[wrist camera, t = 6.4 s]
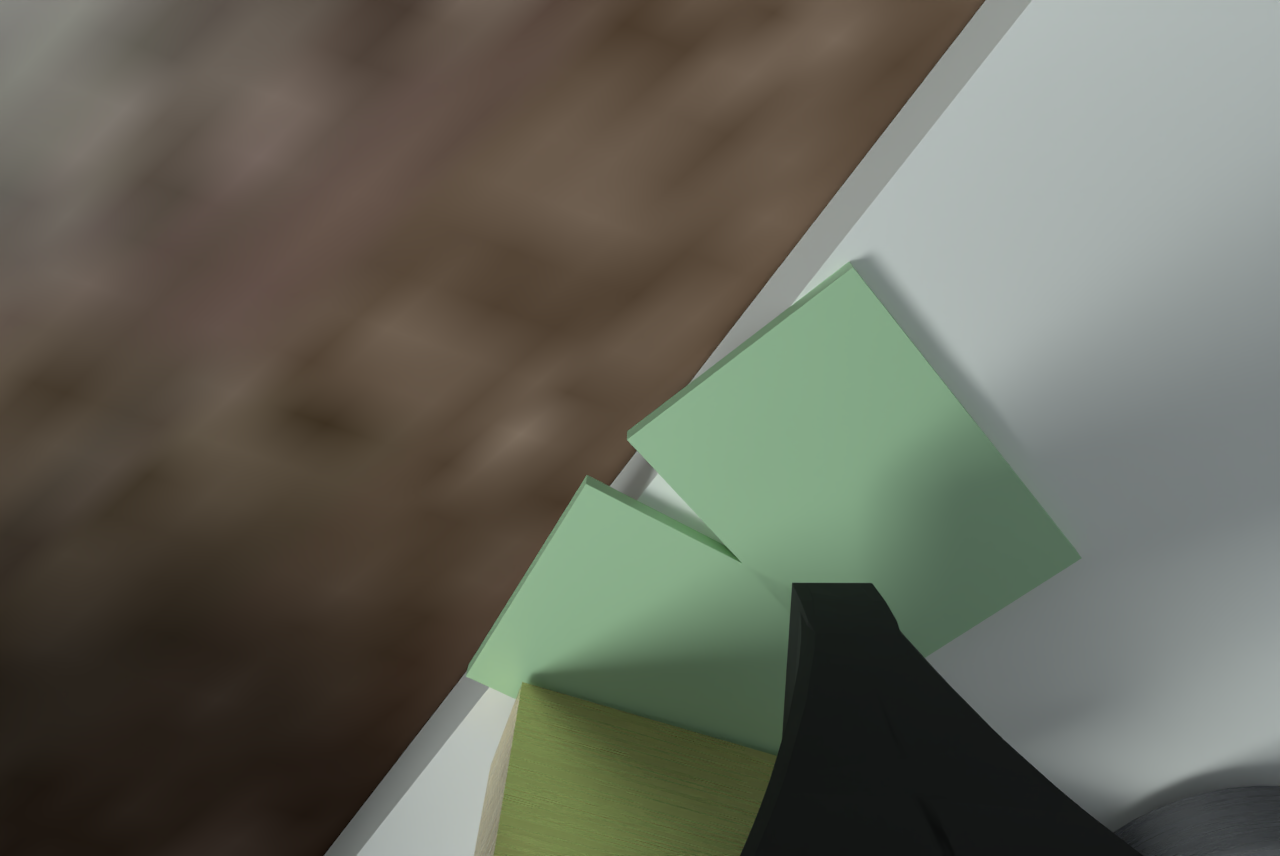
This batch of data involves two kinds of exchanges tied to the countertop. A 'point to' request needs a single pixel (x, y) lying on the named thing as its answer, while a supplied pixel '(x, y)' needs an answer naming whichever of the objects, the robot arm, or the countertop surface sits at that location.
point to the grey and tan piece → (729, 792)
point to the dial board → (962, 438)
